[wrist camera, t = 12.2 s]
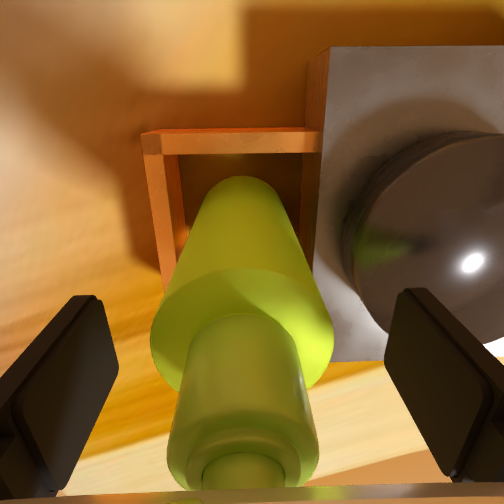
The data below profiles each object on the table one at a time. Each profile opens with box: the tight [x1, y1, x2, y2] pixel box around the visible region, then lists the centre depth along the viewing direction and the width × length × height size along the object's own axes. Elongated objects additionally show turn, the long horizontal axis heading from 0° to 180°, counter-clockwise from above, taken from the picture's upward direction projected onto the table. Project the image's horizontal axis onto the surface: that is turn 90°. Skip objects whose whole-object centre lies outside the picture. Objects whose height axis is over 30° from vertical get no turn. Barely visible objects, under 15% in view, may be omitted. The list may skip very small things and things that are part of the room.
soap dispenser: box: [150, 176, 334, 504], centre depth 13 cm, size 6×7×20 cm
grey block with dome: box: [140, 45, 504, 362], centre depth 18 cm, size 18×23×8 cm
